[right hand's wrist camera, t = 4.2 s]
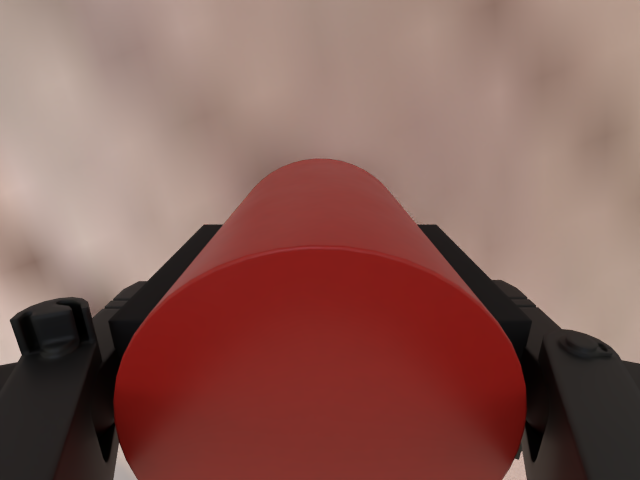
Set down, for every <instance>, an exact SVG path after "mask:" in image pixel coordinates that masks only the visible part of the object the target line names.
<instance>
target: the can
mask: <svg viewBox="0 0 640 480" xmlns="http://www.w3.org/2000/svg"><path fill="white" fill-rule="evenodd" d="M113 404H114V422H115V426H116V431H117V435H118V440H119V443H120V446H121V448H122V451H123V453H124V456H125V458H126V461H127V462H128V464H129V466H130V467H131V469H132V471H133V473H134V474H135V476H136V478H137V479H138V480H502V479H503V478H504V476H505V475H506V473H507V472H508V470H509V469H510V467H511V465H512V462H513V460H514V458H515V456H516V454H517V452H518V450H519V447H520V443H521V440H522V437H523V433H524V430H525V422H526V413H527V399H526V385H525V381H524V377H523V372H522V368H521V364H520V362H519V359H518V357H517V355H516V352H515V350H514V348H513V345H512V343H511V341H510V340H509V338H508V337H507V335H506V334H505V332H504V330H503V329H502V327H501V326H500V324H499V323H498V321H497V320H496V319H495V318H494V317H493V315H492V314H491V313H490V312H489V311H488V309H487V308H486V307H485V306H484V305H483V303H482V302H481V301H480V300H479V299H478V297H477V296H476V295H475V294H474V293H473V291H472V290H471V289H470V288H469V287H468V285H467V284H466V283H465V282H464V281H463V279H462V278H461V277H460V276H459V275H458V273H457V272H456V271H455V270H454V269H453V267H452V266H451V265H450V264H449V263H448V261H447V260H446V259H445V258H444V257H443V255H442V254H441V253H440V252H439V251H438V249H437V248H436V247H435V246H434V245H433V243H432V242H431V241H430V240H429V239H428V237H427V236H426V235H425V234H424V233H423V231H422V230H421V229H420V228H419V227H418V225H417V224H416V223H415V222H414V221H413V219H412V218H411V217H410V216H409V215H408V213H407V212H406V211H405V210H404V209H403V207H402V206H401V205H400V204H399V203H398V201H397V200H396V199H395V198H394V197H393V195H392V194H391V193H390V192H389V191H388V190H387V188H386V187H385V186H384V185H383V184H382V183H381V182H380V181H379V180H377V179H376V178H375V177H374V176H373V175H371V174H369V173H368V172H366V171H365V170H363V169H361V168H359V167H357V166H354V165H352V164H349V163H346V162H342V161H338V160H332V159H309V160H302V161H298V162H294V163H291V164H288V165H286V166H283V167H281V168H279V169H277V170H276V171H274V172H272V173H270V174H269V175H268V176H267V177H265V178H264V179H263V180H261V181H260V182H259V183H258V184H257V185H256V186H255V187H254V188H253V190H252V191H251V192H250V193H249V194H248V196H247V197H246V198H245V199H244V200H243V202H242V203H241V204H240V205H239V206H238V208H237V209H236V210H235V211H234V212H233V214H232V215H231V216H230V217H229V218H228V220H227V221H226V222H225V223H224V224H223V226H222V227H221V228H220V229H219V230H218V232H217V233H216V234H215V235H214V236H213V238H212V239H211V240H210V241H209V242H208V244H207V245H206V246H205V247H204V248H203V250H202V251H201V252H200V253H199V254H198V256H197V257H196V258H195V259H194V260H193V262H192V263H191V264H190V265H189V266H188V268H187V269H186V270H185V271H184V272H183V274H182V275H181V276H180V277H179V278H178V280H177V281H176V282H175V283H174V285H173V286H172V287H171V288H170V289H169V291H168V292H167V293H166V294H165V295H164V297H163V298H162V299H161V300H160V301H159V303H158V304H157V305H156V306H155V307H154V309H153V310H152V311H151V312H150V313H149V315H148V316H147V317H146V319H145V320H144V321H143V323H142V324H141V325H140V327H139V328H138V329H137V331H136V332H135V333H134V335H133V337H132V339H131V341H130V343H129V345H128V347H127V349H126V350H125V352H124V354H123V357H122V360H121V363H120V367H119V370H118V373H117V376H116V383H115V391H114V399H113Z"/></svg>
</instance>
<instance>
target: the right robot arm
mask: <svg viewBox="0 0 640 480" xmlns="http://www.w3.org/2000/svg"><path fill="white" fill-rule="evenodd" d="M222 226H223V225H203V226H202V227H201V228H200V229H199V230H198V231H197V232H196V233H195V234H194V235H193V236H192V237H191V238H190V239H189V240H188V241H187V242H186V243H185V244H184V245H183V246H182V247H181V248H180V249H179V250H178V251H177V252H176V253H175V254H174V255H173V256H172V257H171V258H170V259H169V260H168V261H167V262H166V263H165V264H164V265H163V266H162V267H161V268H160V269H159V270H158V271H157V272H156V273H155V274H154V275H153V276H152V277H151V278H150V279H149V280H148V281H139V282H137V283H135V284H133V285H131V286H129V287H127V288H125V289H123V290H122V291H121V292H120V293H119V294H118V295H117V296H116V297H115V298H114V299H113V301H110V302H109V303H108V304H107V305H106V306H105V309H102V310H101V311H100V312H99V313H97V314H96V315H95V316H94V317H93V318H92V316H91V312H90V308H89V305H88V302H87V301H86V300H84V299H82V298H75V297H68V298H58V299H53V300H49V301H44V302H41V303H39V304H36V305H33V306H30V307H28V308H26V309H25V310H23V311H21V312H19V313H17V314H16V315H15V316H14V317H13V318H12V319H10V322H11V325H12V328H13V331H14V334H15V337H16V340H17V342H18V345H19V348H20V351H21V354H22V356H21V358H20V359H19V361H18V362H16V363H11V364H6V365H0V480H113V478H114V471H115V465H116V458H117V452H118V445H119V440H118V435H117V431H116V426H115V422H114V404H113V399H114V391H115V383H116V376H117V373H118V370H119V367H120V363H121V360H122V357H123V354H124V352H125V350H126V349H127V347H128V345H129V343H130V341H131V339H132V337H133V335H134V333H135V332H136V331H137V329H138V328H139V327H140V325H141V324H142V323H143V321H144V320H145V319H146V317H147V316H148V315H149V313H150V312H151V311H152V310H153V309H154V307H155V306H156V305H157V304H158V303H159V301H160V300H161V299H162V298H163V297H164V295H165V294H166V293H167V292H168V291H169V289H170V288H171V287H172V286H173V285H174V283H175V282H176V281H177V280H178V278H179V277H180V276H181V275H182V274H183V272H184V271H185V270H186V269H187V268H188V266H189V265H190V264H191V263H192V262H193V260H194V259H195V258H196V257H197V256H198V254H199V253H200V252H201V251H202V250H203V248H204V247H205V246H206V245H207V244H208V242H209V241H210V240H211V239H212V238H213V236H214V235H215V234H216V233H217V232H218V230H219V229H220V228H221V227H222ZM418 227H419V228H420V229H421V230H422V231H423V233H424V234H425V235H426V236H427V237H428V239H429V240H430V241H431V242H432V243H433V245H434V246H435V247H436V248H437V249H438V251H439V252H440V253H441V254H442V255H443V257H444V258H445V259H446V260H447V261H448V263H449V264H450V265H451V266H452V267H453V269H454V270H455V271H456V272H457V273H458V275H459V276H460V277H461V278H462V279H463V281H464V282H465V283H466V284H467V285H468V287H469V288H470V289H471V290H472V291H473V293H474V294H475V295H476V296H477V297H478V299H479V300H480V301H481V302H482V303H483V305H484V306H485V307H486V308H487V309H488V311H489V312H490V313H491V314H492V315H493V317H494V318H495V319H496V320H497V321H498V323H499V324H500V326H501V327H502V329H503V330H504V332H505V334H506V335H507V337H508V338H509V340H510V341H511V343H512V345H513V348H514V350H515V352H516V355H517V357H518V359H519V362H520V364H521V368H522V372H523V377H524V381H525V385H526V399H527V413H526V422H525V430H524V433H523V437H522V440H521V443H520V447H519V450H518V452H517V454H516V456H515V459H518V460H519V457H520V453H521V451H523V457H524V464H525V470H526V477H527V480H640V364H639V363H633V362H628V361H622V360H621V359H620V357H619V355H618V354H617V353H616V352H615V351H614V350H613V349H612V348H611V347H610V346H609V345H607V344H605V343H604V342H602V341H601V340H599V339H597V338H594V337H592V336H590V335H587V334H584V333H581V332H577V331H573V330H564V329H561V328H560V327H559V326H558V325H557V324H556V323H555V322H553V321H552V320H551V319H550V318H549V317H548V316H547V315H546V314H545V313H544V312H543V311H541V310H540V309H539V308H538V307H536V305H535V304H534V303H533V302H532V301H530V300H529V299H527V297H526V296H525V295H524V294H523V293H522V292H521V291H520V290H518V289H517V288H516V287H514V286H512V285H510V284H508V283H506V282H504V281H502V280H491V279H490V278H489V277H488V276H487V275H486V274H485V273H484V272H483V271H482V270H481V269H480V268H479V267H478V266H477V265H476V264H475V263H474V262H473V261H472V260H471V259H470V258H469V257H468V256H467V255H466V254H465V253H464V252H463V251H462V250H461V249H460V248H459V247H458V246H457V245H456V244H455V243H454V242H453V241H452V240H451V239H450V238H449V237H448V236H447V235H446V234H445V233H444V232H443V231H442V230H441V229H440V228H439V227H438V226H437V225H418Z"/></svg>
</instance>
